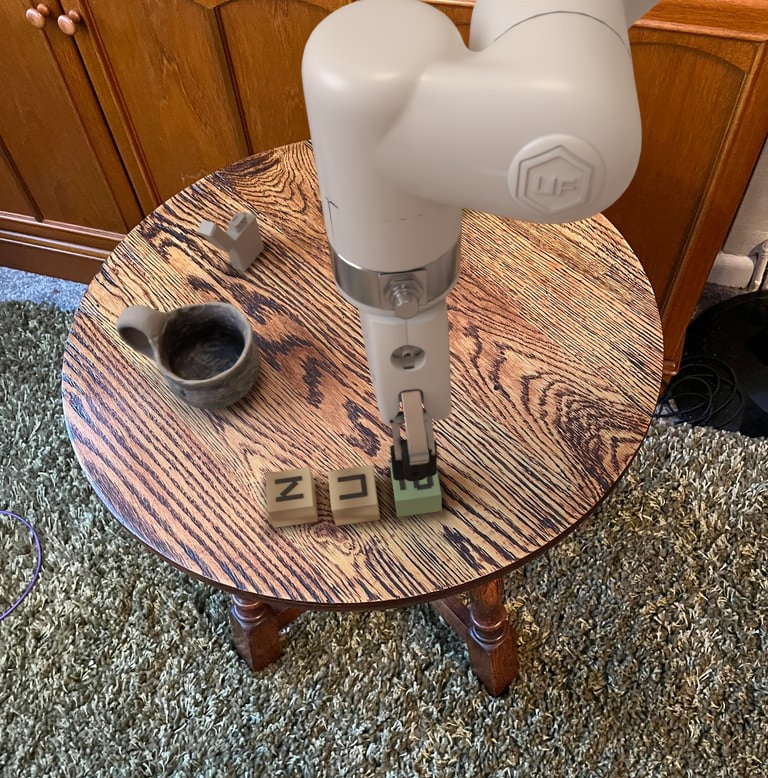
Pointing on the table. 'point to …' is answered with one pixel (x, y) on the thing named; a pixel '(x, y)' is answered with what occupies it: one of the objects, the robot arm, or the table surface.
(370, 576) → the table surface
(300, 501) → the left tile
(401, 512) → the green number block
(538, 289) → the table surface
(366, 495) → the left tile
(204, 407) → the mug
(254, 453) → the table surface
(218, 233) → the grey y-shaped block
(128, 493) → the table surface
